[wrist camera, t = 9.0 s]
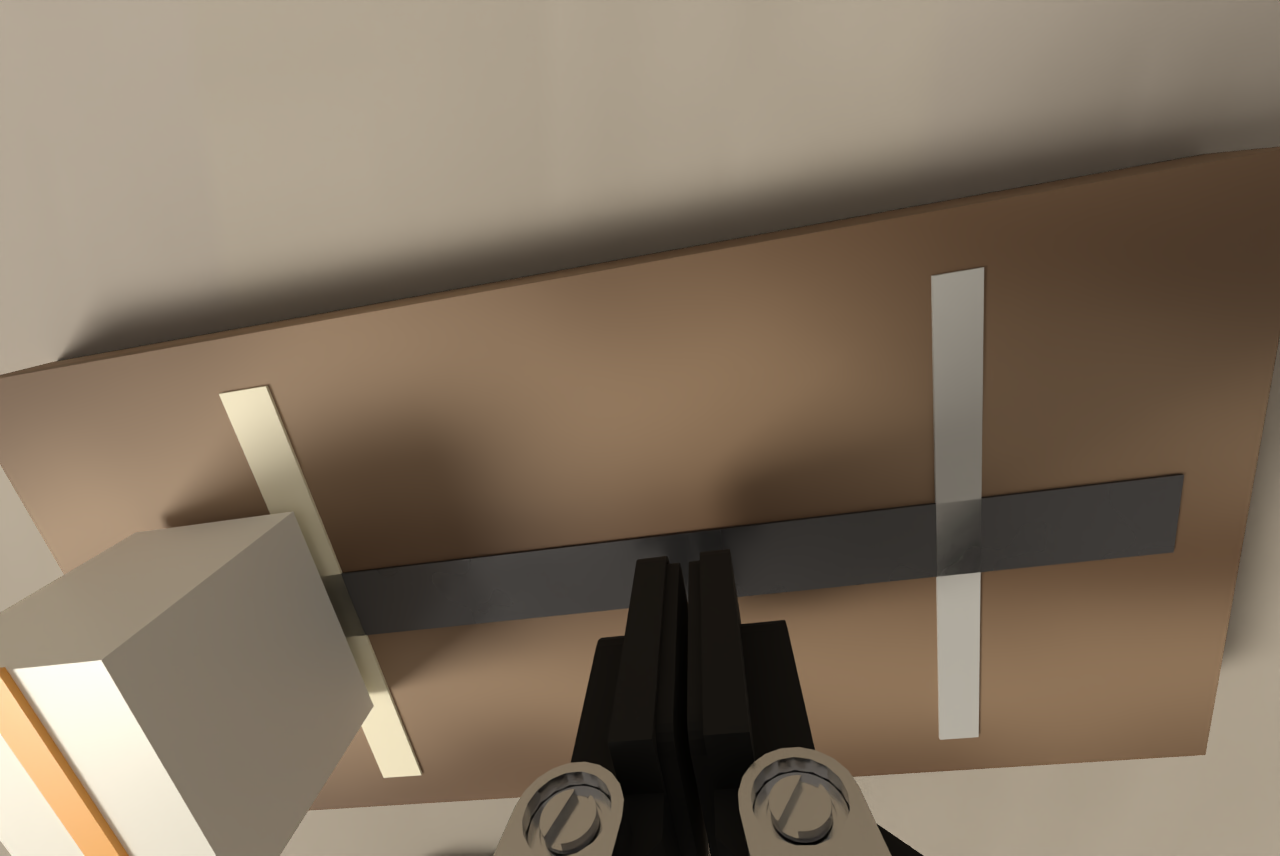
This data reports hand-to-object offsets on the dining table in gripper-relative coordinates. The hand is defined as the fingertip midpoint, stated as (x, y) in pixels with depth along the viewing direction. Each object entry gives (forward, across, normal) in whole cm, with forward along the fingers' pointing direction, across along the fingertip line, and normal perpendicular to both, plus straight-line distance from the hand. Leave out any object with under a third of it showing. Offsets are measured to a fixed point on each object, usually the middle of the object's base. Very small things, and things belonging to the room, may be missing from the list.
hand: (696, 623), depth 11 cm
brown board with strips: (+4, +2, 0) cm, 4 cm away
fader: (+1, +9, 0) cm, 10 cm away
